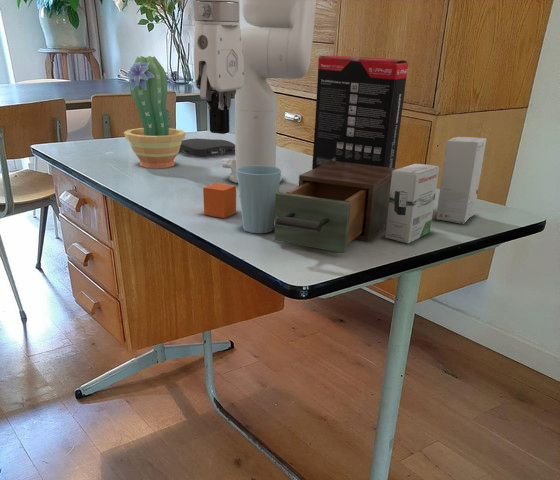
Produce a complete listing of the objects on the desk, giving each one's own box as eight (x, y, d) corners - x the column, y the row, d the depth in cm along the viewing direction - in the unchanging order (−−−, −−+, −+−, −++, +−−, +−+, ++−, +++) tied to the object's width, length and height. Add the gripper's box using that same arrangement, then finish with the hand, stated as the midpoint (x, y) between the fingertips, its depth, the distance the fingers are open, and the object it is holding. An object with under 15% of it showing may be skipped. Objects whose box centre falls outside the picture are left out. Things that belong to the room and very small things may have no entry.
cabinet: (367, 241, 103) (373, 184, 98) (296, 229, 108) (299, 175, 103) (393, 219, 115) (399, 168, 110) (328, 210, 120) (331, 160, 115)
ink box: (406, 228, 110) (416, 161, 104) (430, 233, 108) (441, 165, 102) (383, 238, 104) (391, 168, 98) (407, 244, 102) (417, 173, 96)
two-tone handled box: (332, 262, 90) (336, 211, 86) (260, 249, 95) (260, 200, 91) (372, 230, 105) (376, 185, 102) (308, 219, 110) (310, 176, 106)
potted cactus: (116, 162, 154) (104, 54, 142) (166, 156, 163) (159, 54, 151) (146, 173, 145) (137, 57, 132) (198, 166, 154) (194, 57, 141)
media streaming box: (212, 146, 180) (212, 135, 178) (240, 154, 170) (240, 143, 169) (170, 150, 172) (169, 139, 170) (197, 158, 162) (196, 147, 160)
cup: (282, 224, 110) (283, 166, 105) (277, 236, 104) (278, 175, 98) (241, 221, 111) (241, 164, 105) (234, 234, 104) (233, 173, 99)
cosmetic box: (464, 224, 113) (479, 142, 106) (433, 219, 116) (446, 139, 108) (474, 215, 120) (489, 137, 112) (444, 210, 122) (457, 133, 115)
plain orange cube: (204, 214, 114) (202, 187, 112) (216, 209, 118) (215, 182, 115) (224, 218, 112) (224, 190, 110) (236, 212, 116) (236, 185, 113)
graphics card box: (393, 201, 127) (411, 58, 113) (381, 208, 122) (398, 59, 108) (322, 190, 134) (331, 54, 121) (308, 196, 129) (315, 55, 116)
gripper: (213, 14, 91) (216, 140, 100) (257, 16, 103) (256, 129, 112) (172, 13, 94) (179, 136, 103) (220, 15, 105) (222, 125, 115)
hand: (219, 132), depth 108 cm, fingers closed
